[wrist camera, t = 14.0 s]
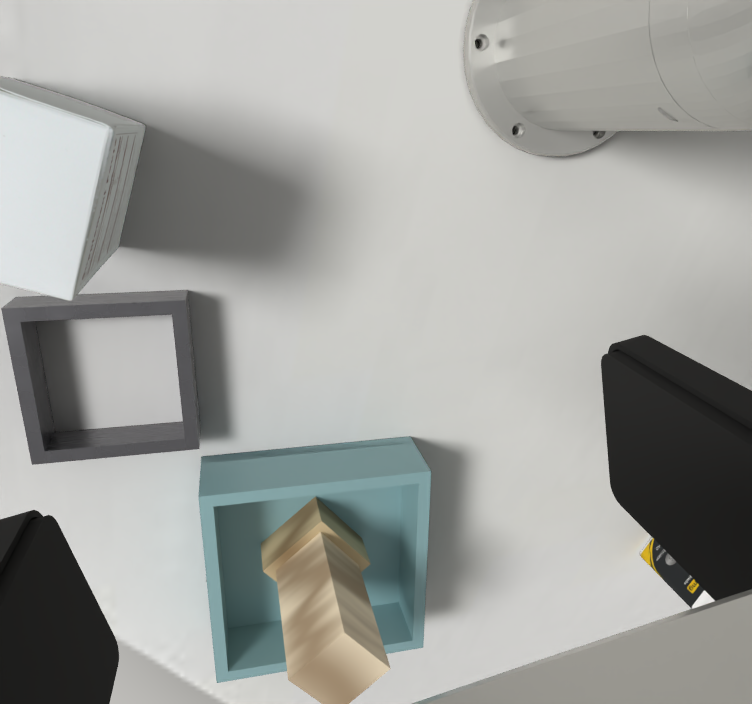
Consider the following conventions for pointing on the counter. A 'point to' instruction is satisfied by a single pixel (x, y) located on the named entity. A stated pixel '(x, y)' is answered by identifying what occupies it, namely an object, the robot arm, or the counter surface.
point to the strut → (324, 605)
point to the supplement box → (61, 187)
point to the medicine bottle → (674, 575)
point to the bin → (278, 504)
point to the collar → (106, 440)
